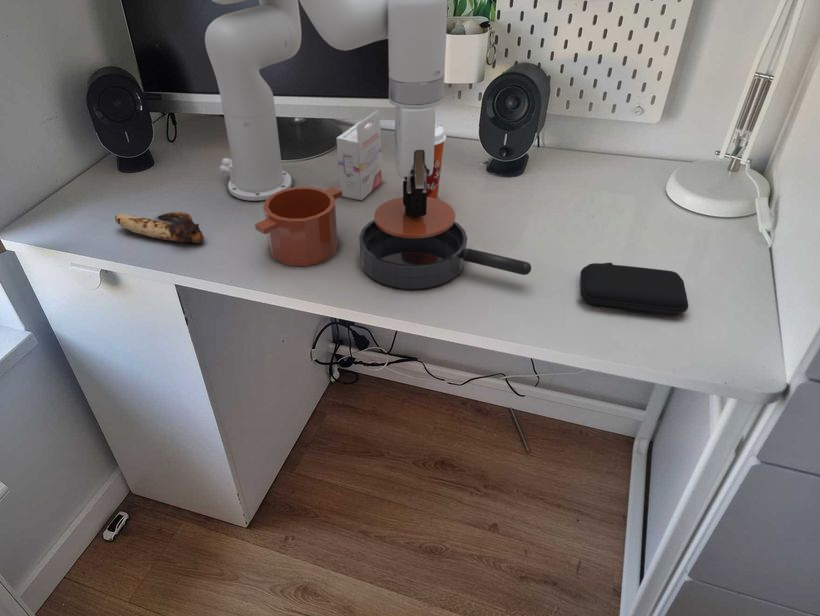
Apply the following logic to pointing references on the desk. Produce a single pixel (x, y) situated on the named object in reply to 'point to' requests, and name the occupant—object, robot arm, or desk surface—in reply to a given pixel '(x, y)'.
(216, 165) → the desk surface
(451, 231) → the pan
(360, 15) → the robot arm
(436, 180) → the paper cup
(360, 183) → the ink cartridge box
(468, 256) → the pan handle
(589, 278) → the carrying case
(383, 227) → the lid
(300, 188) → the pot
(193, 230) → the overripe banana
